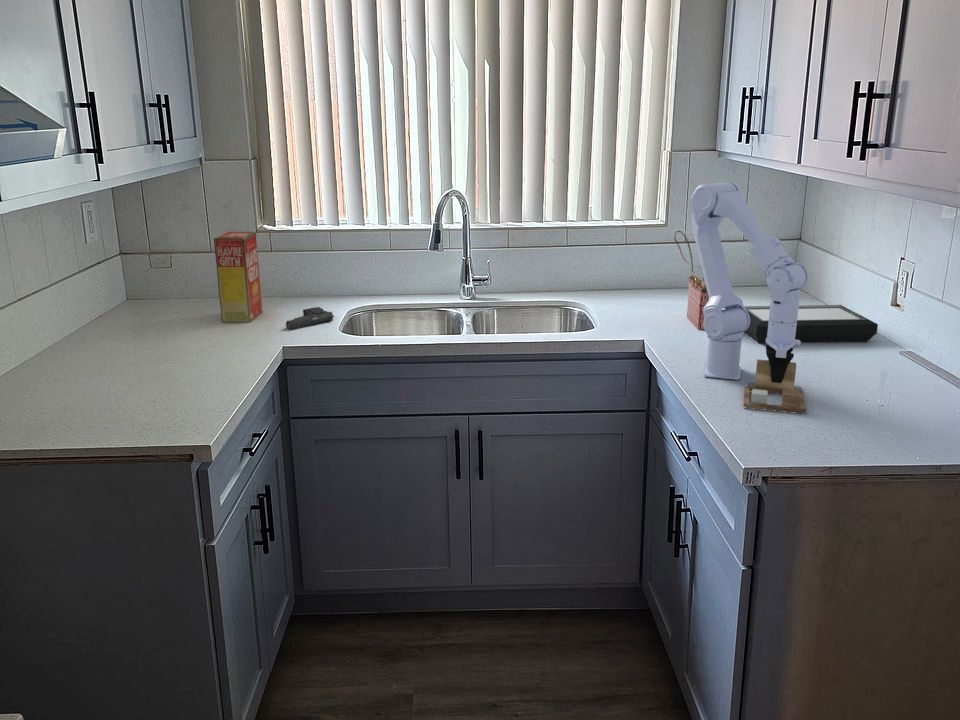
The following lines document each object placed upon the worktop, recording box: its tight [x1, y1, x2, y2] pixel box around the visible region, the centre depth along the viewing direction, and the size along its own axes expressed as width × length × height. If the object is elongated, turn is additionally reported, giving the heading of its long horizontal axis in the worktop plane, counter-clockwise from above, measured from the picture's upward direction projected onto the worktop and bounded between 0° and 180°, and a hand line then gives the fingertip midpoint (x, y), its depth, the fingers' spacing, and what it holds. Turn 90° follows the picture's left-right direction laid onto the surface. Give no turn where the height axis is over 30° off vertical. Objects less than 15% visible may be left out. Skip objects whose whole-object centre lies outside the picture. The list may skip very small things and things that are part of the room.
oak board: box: [754, 359, 797, 390], centre depth 177 cm, size 2×8×6 cm, turn 72°
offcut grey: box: [750, 389, 769, 404], centre depth 169 cm, size 3×3×3 cm
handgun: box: [285, 306, 335, 331], centre depth 238 cm, size 3×16×12 cm
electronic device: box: [743, 304, 879, 344], centre depth 220 cm, size 32×6×20 cm
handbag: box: [673, 230, 709, 331], centre depth 231 cm, size 7×21×25 cm, turn 179°
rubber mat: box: [748, 381, 803, 391], centre depth 178 cm, size 5×11×1 cm, turn 72°
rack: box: [743, 385, 807, 414], centre depth 171 cm, size 12×12×1 cm
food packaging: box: [213, 231, 264, 323], centre depth 240 cm, size 13×9×25 cm
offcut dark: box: [780, 389, 799, 407], centre depth 167 cm, size 3×3×4 cm
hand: (776, 380), depth 177 cm, fingers closed on oak board, 2 cm apart
